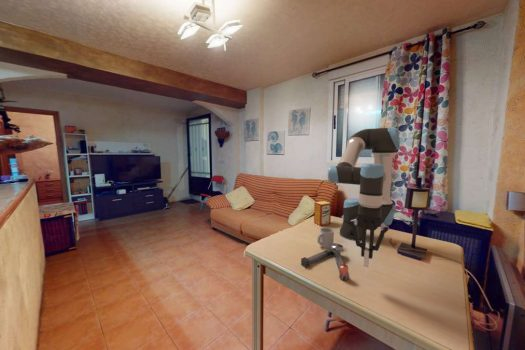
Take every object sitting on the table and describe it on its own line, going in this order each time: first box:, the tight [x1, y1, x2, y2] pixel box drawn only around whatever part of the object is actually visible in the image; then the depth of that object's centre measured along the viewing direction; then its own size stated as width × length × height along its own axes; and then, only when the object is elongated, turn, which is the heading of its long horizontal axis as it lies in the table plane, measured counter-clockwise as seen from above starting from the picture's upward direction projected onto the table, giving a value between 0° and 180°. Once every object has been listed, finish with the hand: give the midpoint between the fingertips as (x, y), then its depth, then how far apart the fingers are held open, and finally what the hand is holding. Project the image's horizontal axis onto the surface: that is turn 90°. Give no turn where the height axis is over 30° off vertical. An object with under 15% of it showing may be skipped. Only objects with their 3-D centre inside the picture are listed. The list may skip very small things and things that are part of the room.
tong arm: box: [331, 242, 349, 281], centre depth 91 cm, size 22×6×5 cm, turn 169°
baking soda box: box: [313, 200, 332, 227], centre depth 142 cm, size 10×6×16 cm
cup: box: [316, 227, 335, 249], centre depth 109 cm, size 7×10×9 cm
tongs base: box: [300, 248, 342, 269], centre depth 95 cm, size 22×6×4 cm, turn 124°
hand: (366, 265), depth 76 cm, fingers closed
